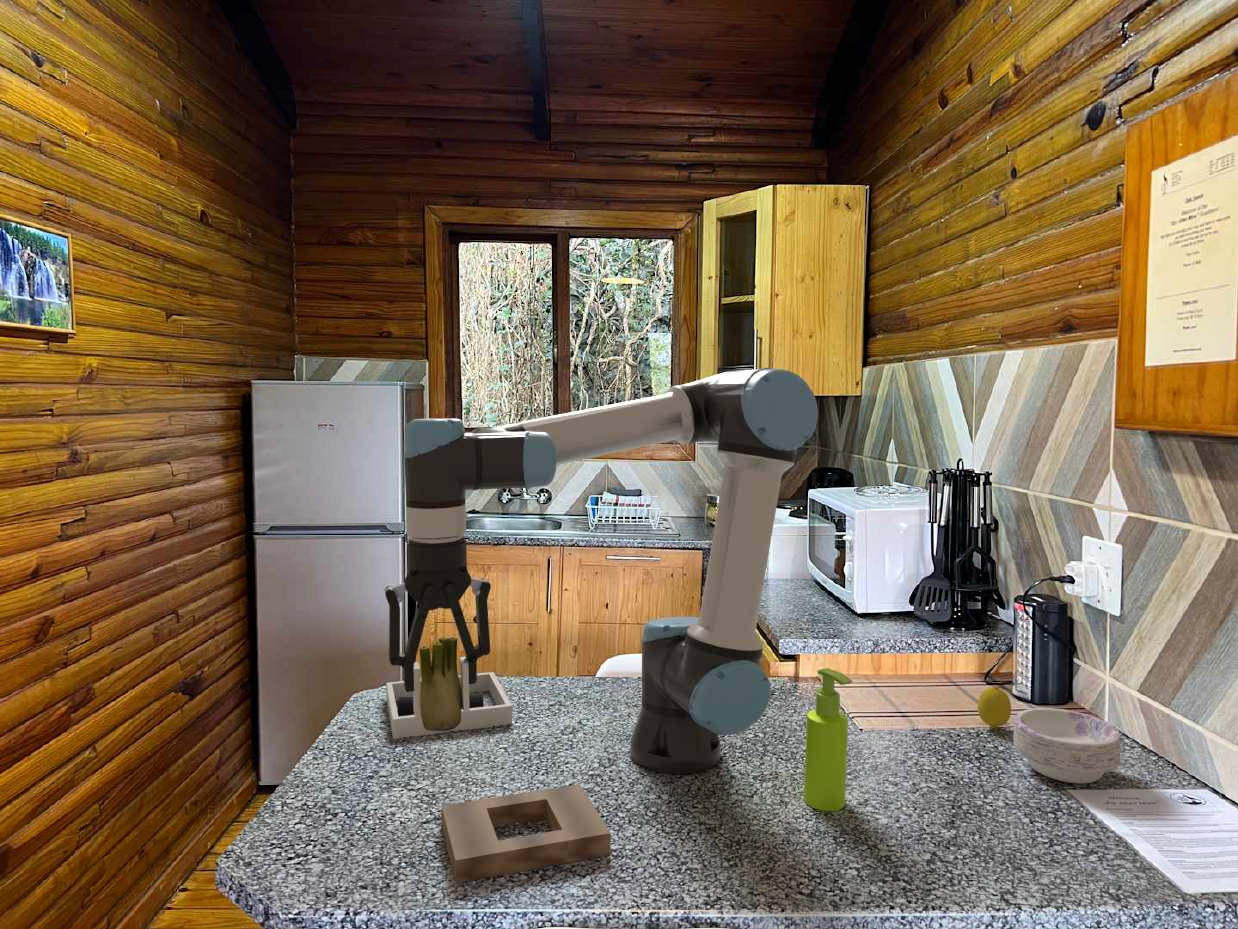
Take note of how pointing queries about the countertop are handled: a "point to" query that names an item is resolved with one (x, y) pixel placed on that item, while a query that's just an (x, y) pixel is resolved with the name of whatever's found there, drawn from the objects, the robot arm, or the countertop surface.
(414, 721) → the parts tray
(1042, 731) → the paper bowls
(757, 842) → the countertop surface
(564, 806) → the jig block
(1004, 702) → the lemon
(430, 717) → the fennel bulb
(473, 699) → the pipe connector
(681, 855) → the countertop surface
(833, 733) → the soap dispenser
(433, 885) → the countertop surface
